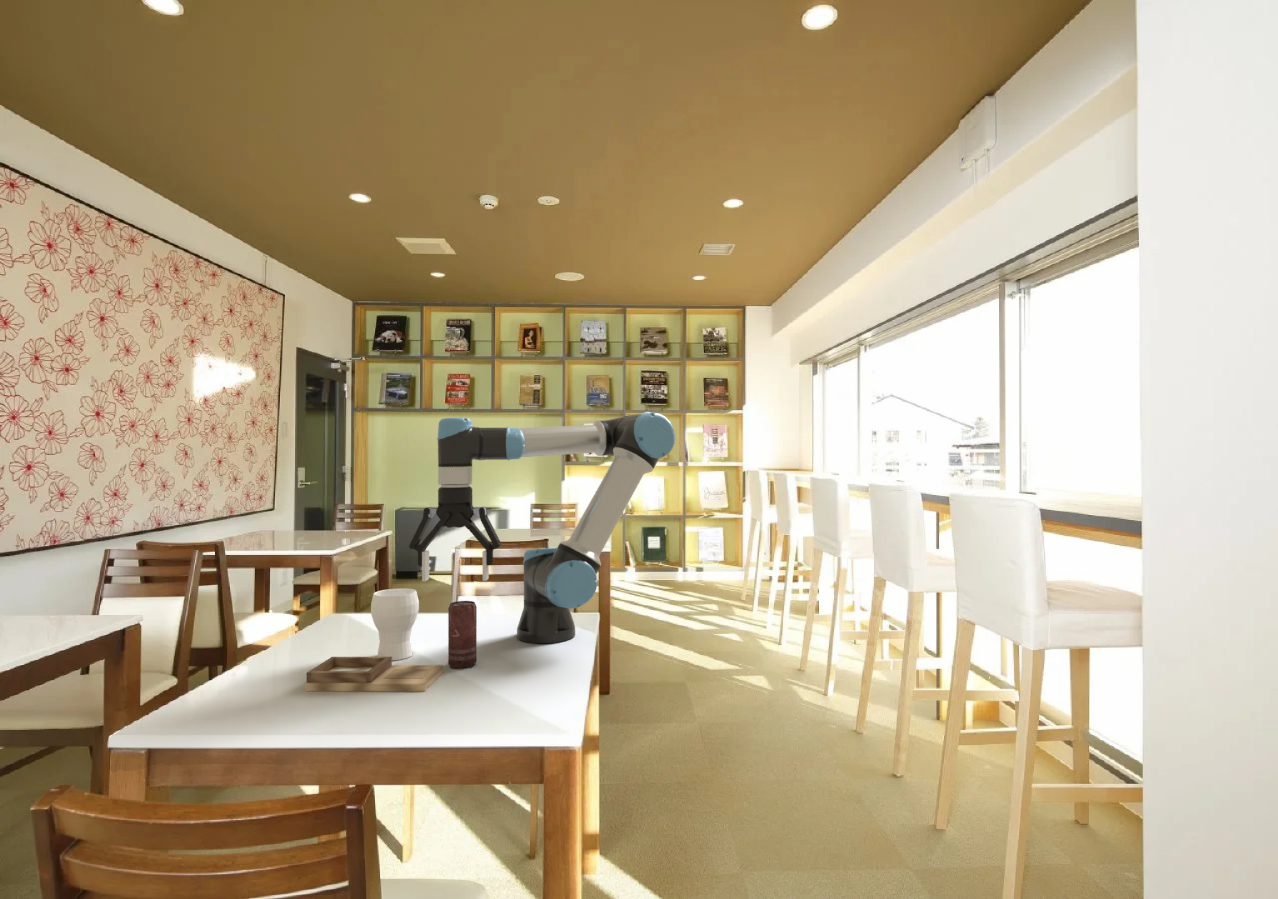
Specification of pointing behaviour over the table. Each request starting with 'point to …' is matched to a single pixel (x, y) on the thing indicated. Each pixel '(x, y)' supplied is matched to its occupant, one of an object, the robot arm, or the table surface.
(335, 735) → the table surface
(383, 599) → the cup
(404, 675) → the holder board
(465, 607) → the can
